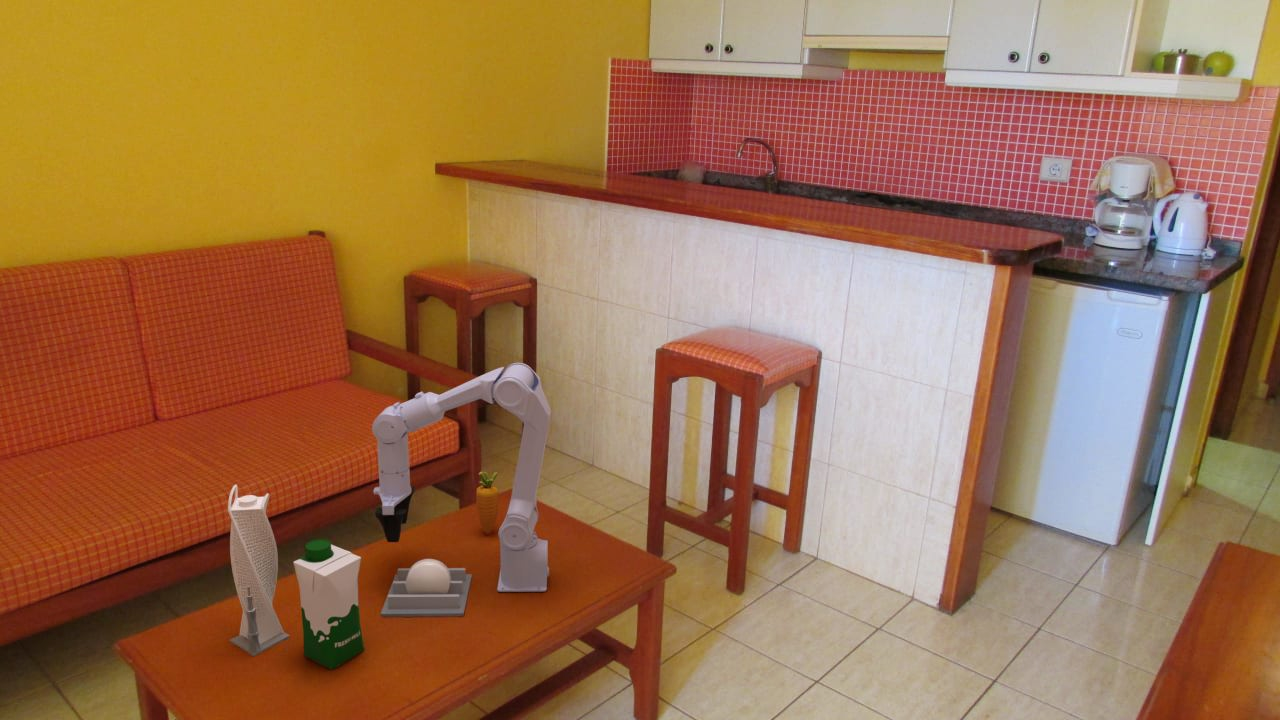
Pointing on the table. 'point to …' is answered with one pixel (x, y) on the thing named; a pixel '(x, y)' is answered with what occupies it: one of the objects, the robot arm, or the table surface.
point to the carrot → (487, 502)
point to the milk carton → (329, 603)
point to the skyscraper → (254, 573)
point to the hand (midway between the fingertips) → (397, 532)
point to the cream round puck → (428, 578)
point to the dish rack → (427, 597)
